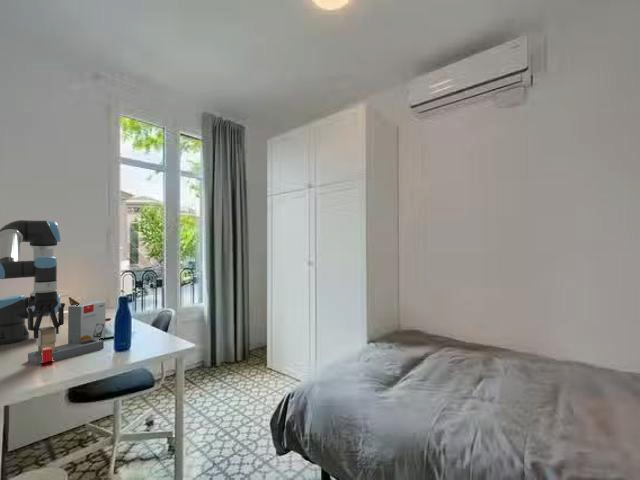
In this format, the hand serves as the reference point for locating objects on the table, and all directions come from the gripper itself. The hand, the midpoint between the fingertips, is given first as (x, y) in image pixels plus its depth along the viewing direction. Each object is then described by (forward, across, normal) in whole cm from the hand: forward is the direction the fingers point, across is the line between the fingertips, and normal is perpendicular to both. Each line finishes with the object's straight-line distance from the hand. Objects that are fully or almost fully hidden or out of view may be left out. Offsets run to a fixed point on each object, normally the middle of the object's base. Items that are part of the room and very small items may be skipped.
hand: (46, 343), depth 145 cm
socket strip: (+7, +8, 0) cm, 11 cm away
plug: (+6, 0, 0) cm, 6 cm away
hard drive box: (+8, +22, +14) cm, 27 cm away
